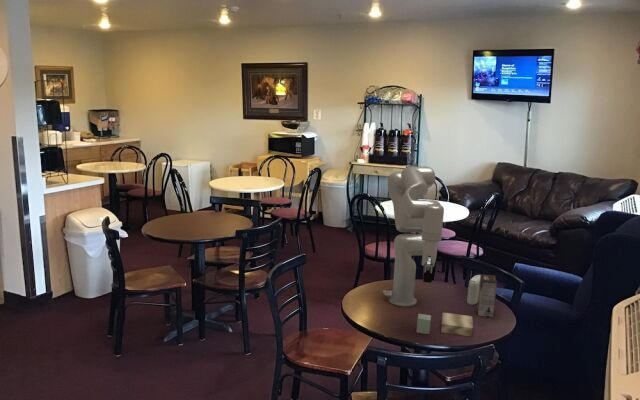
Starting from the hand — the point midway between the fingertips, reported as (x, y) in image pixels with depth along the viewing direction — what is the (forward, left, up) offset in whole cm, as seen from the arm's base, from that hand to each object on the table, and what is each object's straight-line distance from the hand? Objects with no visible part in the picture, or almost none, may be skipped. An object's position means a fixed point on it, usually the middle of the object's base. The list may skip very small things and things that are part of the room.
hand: (428, 278), depth 219 cm
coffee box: (+25, +28, -22) cm, 44 cm away
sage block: (0, 0, -22) cm, 22 cm away
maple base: (+13, +7, -23) cm, 27 cm away
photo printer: (+21, +40, -22) cm, 50 cm away
